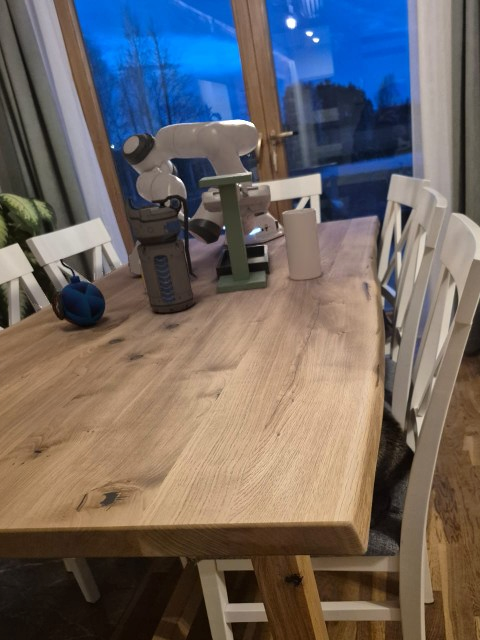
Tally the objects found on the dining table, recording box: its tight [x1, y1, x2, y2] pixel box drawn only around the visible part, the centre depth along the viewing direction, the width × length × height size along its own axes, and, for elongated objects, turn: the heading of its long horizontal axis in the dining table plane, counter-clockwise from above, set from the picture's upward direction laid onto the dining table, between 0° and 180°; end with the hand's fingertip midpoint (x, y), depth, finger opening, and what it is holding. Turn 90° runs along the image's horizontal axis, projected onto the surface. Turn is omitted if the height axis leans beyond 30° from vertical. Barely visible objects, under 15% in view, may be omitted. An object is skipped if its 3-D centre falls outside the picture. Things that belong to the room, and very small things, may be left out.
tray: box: [215, 244, 271, 281], centre depth 166 cm, size 26×14×3 cm, turn 3°
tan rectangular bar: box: [236, 183, 241, 201], centre depth 159 cm, size 22×4×4 cm, turn 3°
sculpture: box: [127, 239, 141, 276], centre depth 176 cm, size 11×18×12 cm
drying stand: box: [198, 171, 267, 294], centre depth 142 cm, size 12×12×26 cm
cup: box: [281, 207, 323, 281], centre depth 145 cm, size 8×8×16 cm
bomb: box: [50, 258, 106, 327], centre depth 126 cm, size 10×11×15 cm
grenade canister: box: [124, 195, 198, 314], centre depth 129 cm, size 10×13×25 cm
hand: (233, 186), depth 163 cm, fingers closed on tan rectangular bar, 2 cm apart
